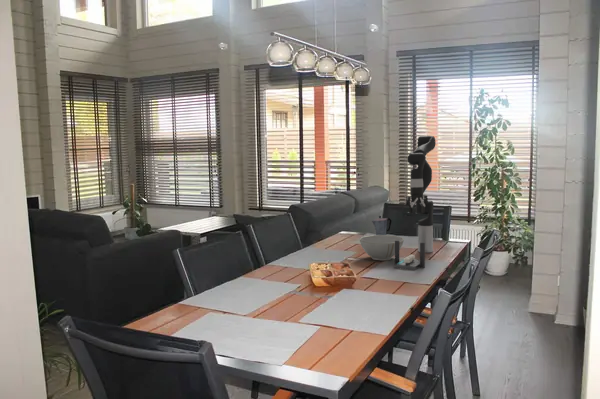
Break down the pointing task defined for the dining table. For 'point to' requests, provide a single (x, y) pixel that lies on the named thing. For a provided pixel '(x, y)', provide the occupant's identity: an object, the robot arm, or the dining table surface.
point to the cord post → (422, 255)
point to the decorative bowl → (380, 246)
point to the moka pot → (381, 225)
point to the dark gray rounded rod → (396, 252)
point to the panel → (408, 265)
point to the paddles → (409, 258)
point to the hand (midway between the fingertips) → (417, 213)
